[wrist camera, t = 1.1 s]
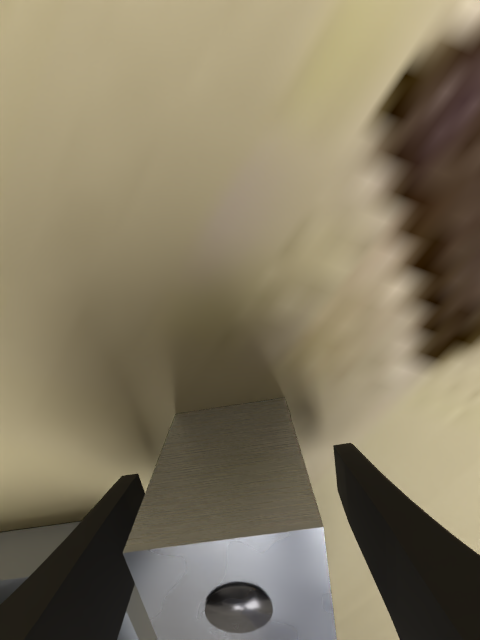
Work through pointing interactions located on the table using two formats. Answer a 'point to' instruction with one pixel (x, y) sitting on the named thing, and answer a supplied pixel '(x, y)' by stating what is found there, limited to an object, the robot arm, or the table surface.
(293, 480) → the block
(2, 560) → the scale housing
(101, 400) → the table surface
